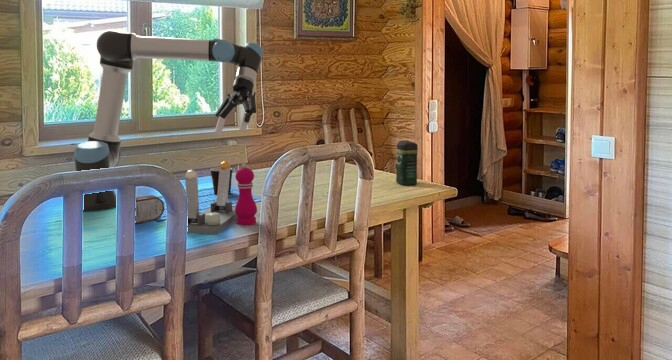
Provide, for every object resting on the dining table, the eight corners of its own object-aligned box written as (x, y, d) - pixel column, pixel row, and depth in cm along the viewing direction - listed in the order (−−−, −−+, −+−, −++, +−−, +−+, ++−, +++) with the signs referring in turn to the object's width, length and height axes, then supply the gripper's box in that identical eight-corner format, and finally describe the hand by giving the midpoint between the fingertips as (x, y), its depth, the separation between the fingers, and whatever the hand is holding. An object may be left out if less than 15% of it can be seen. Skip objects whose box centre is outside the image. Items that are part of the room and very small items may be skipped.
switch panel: (180, 232, 190) (179, 216, 189) (211, 211, 215) (211, 197, 214) (216, 234, 188) (216, 218, 187) (244, 213, 213) (243, 199, 212)
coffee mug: (228, 196, 239) (227, 171, 237) (208, 195, 241) (206, 170, 239) (239, 190, 250) (238, 166, 248) (219, 189, 252) (218, 165, 250)
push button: (203, 225, 190) (203, 215, 189) (209, 221, 194) (208, 212, 193) (217, 225, 189) (216, 216, 188) (222, 222, 193) (221, 212, 193)
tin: (161, 216, 209) (160, 193, 207) (166, 218, 207) (164, 194, 205) (119, 225, 199) (117, 200, 197) (123, 227, 197) (121, 201, 195)
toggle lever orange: (214, 209, 206) (218, 160, 209) (218, 210, 210) (222, 162, 212) (224, 210, 206) (228, 160, 208) (228, 211, 209) (232, 162, 212)
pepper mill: (238, 219, 204) (236, 161, 200) (259, 220, 204) (257, 161, 200) (232, 225, 197) (230, 165, 193) (254, 226, 197) (252, 165, 193)
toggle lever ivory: (186, 224, 191) (183, 170, 188) (190, 221, 195) (187, 168, 191) (196, 224, 191) (193, 171, 187) (201, 221, 194) (198, 169, 191)
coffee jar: (419, 185, 257) (420, 141, 254) (402, 186, 255) (403, 142, 252) (410, 181, 267) (411, 139, 263) (393, 182, 264) (394, 139, 261)
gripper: (274, 81, 225) (260, 133, 218) (229, 90, 240) (215, 139, 234) (260, 71, 219) (245, 124, 213) (215, 81, 235) (200, 130, 228)
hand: (229, 132), depth 223 cm, fingers open, 13 cm apart
